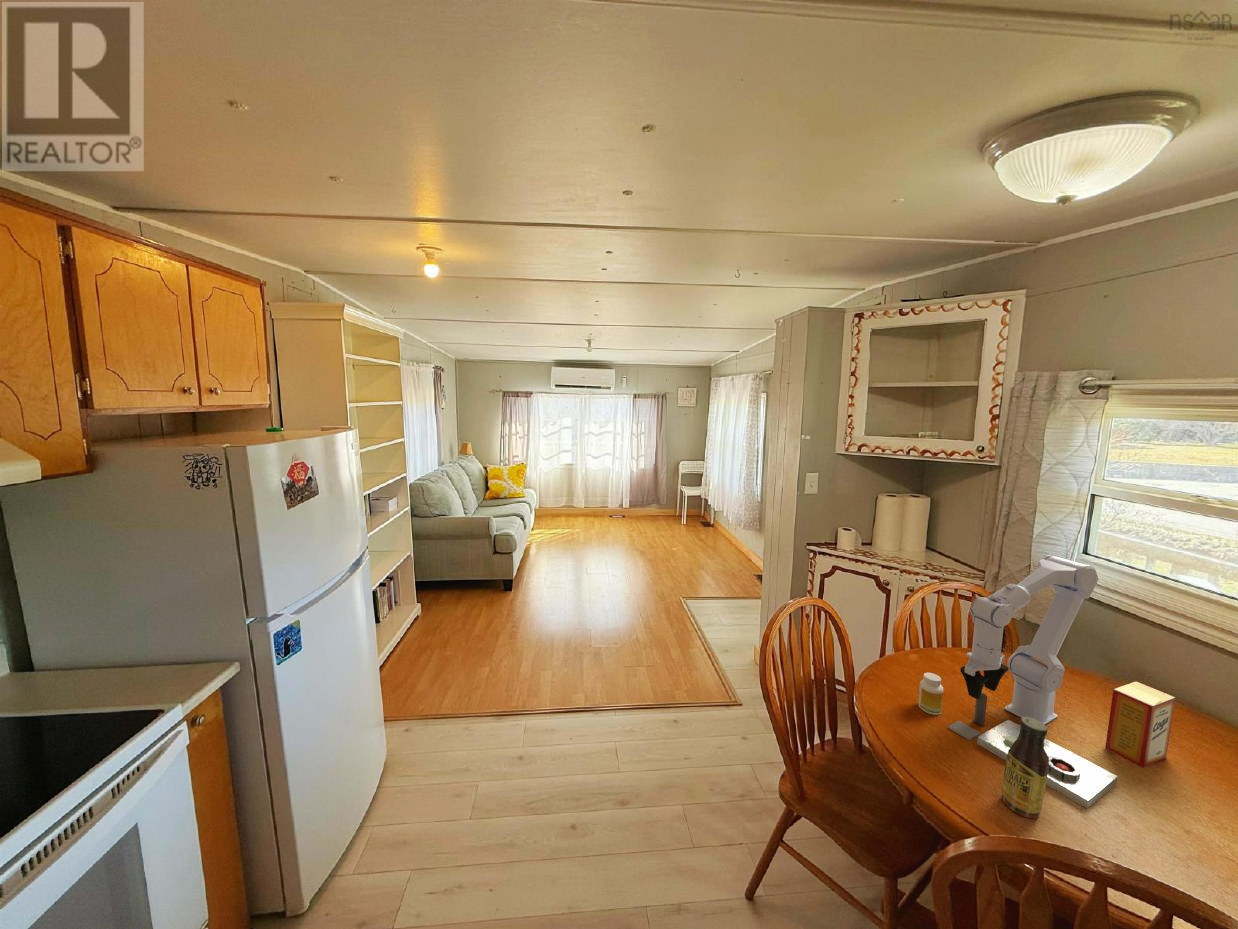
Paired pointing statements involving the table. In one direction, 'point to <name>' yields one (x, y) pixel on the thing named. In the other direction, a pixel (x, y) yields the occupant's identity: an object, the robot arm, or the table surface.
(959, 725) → the pad
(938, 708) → the supplement bottle
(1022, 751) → the sauce bottle
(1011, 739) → the pad
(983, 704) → the dark grey cylinder
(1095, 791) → the panel
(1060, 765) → the trip button
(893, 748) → the table surface
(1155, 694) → the baking soda box
